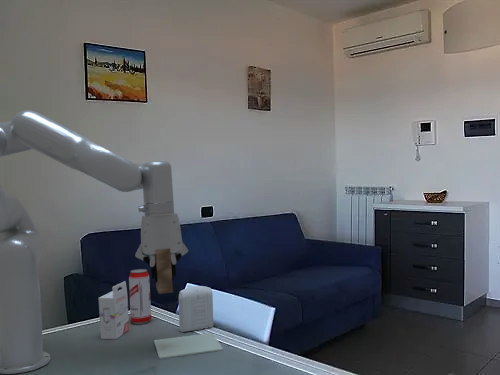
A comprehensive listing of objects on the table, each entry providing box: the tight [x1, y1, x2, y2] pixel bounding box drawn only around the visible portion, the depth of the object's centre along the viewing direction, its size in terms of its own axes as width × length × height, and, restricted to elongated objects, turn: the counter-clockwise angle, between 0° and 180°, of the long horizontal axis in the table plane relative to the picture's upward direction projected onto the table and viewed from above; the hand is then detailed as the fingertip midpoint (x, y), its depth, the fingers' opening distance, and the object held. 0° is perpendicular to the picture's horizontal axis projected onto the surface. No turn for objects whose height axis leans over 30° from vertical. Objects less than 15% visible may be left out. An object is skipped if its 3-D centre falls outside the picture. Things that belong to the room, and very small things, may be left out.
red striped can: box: [128, 268, 152, 325], centre depth 154 cm, size 6×6×16 cm
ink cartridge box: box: [98, 280, 130, 340], centre depth 142 cm, size 9×5×15 cm, turn 168°
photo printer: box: [178, 285, 214, 333], centre depth 145 cm, size 10×4×12 cm, turn 116°
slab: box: [155, 249, 174, 295], centre depth 128 cm, size 4×7×11 cm, turn 16°
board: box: [153, 332, 224, 360], centre depth 130 cm, size 16×14×1 cm
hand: (163, 279), depth 128 cm, fingers closed on slab, 3 cm apart
